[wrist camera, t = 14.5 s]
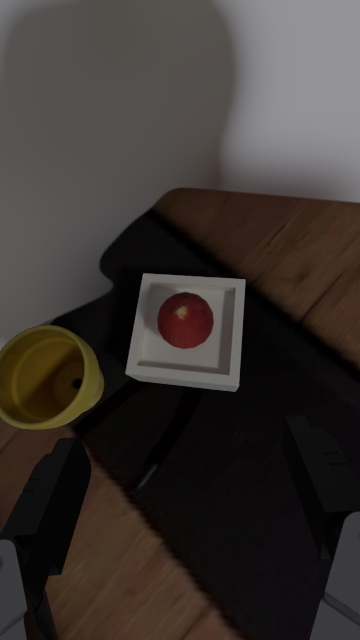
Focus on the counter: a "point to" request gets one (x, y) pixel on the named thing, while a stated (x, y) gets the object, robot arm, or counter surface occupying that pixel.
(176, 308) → the onion
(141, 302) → the tray
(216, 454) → the counter surface
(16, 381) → the plant pot
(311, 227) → the counter surface
